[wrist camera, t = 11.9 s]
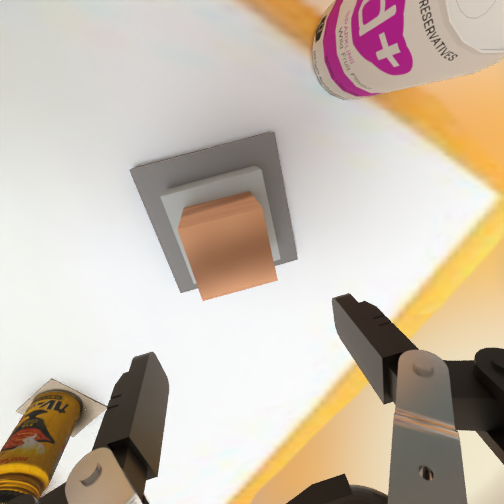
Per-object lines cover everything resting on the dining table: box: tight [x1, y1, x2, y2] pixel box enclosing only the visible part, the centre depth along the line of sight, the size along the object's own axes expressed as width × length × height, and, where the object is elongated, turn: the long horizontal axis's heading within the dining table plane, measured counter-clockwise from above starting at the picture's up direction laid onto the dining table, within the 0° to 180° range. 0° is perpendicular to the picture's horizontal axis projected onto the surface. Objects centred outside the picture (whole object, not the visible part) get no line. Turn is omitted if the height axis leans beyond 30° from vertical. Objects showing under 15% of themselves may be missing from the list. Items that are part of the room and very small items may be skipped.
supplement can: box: [312, 0, 504, 100], centre depth 19 cm, size 8×8×15 cm
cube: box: [177, 191, 277, 301], centre depth 23 cm, size 6×6×6 cm
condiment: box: [0, 380, 107, 504], centre depth 32 cm, size 7×8×12 cm
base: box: [130, 132, 297, 293], centre depth 28 cm, size 14×14×5 cm
